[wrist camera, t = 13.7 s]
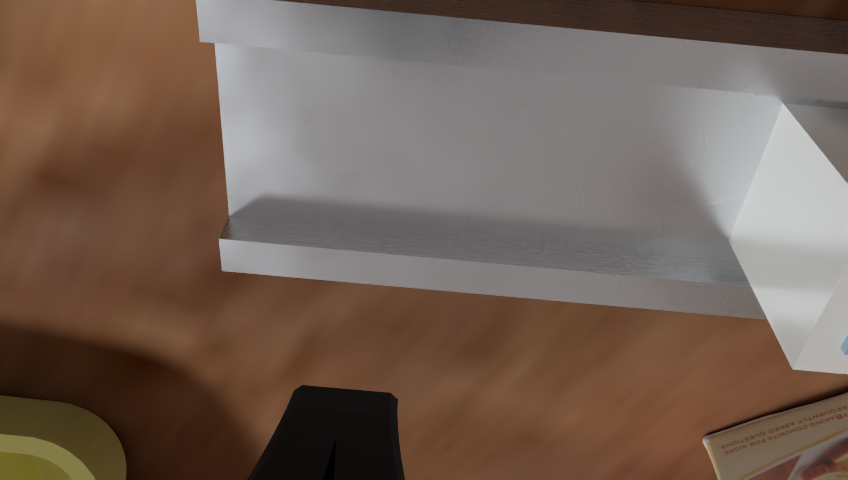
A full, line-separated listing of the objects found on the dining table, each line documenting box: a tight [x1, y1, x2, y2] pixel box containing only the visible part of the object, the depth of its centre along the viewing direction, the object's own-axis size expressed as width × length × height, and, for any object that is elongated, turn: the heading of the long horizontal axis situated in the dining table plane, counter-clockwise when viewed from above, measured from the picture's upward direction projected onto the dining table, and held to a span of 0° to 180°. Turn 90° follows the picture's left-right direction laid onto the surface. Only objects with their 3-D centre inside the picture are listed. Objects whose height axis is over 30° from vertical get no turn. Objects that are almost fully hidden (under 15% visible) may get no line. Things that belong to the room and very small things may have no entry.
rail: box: [196, 0, 848, 320], centre depth 17 cm, size 7×20×5 cm, turn 85°
